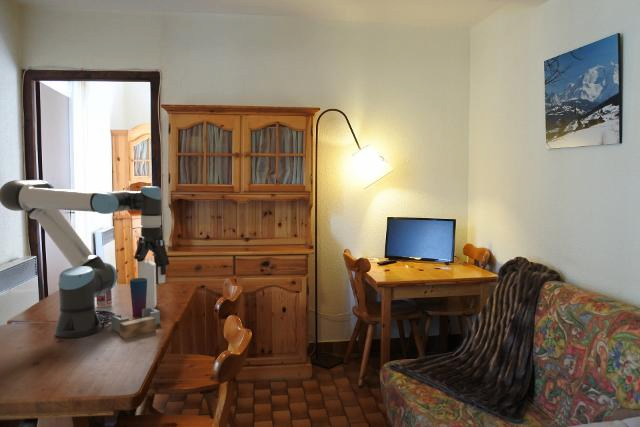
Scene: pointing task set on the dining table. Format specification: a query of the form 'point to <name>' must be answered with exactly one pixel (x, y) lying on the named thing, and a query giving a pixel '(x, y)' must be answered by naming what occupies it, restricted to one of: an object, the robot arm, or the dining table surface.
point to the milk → (150, 283)
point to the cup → (138, 295)
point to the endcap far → (151, 314)
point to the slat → (137, 327)
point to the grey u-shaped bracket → (117, 322)
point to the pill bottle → (104, 299)
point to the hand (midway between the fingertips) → (151, 280)
